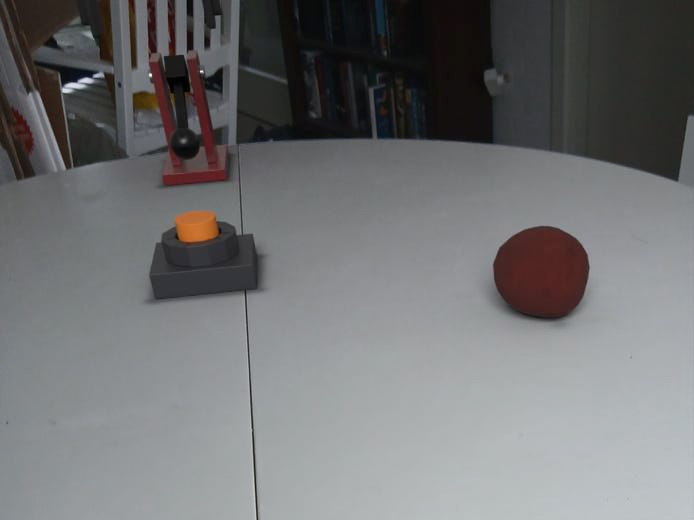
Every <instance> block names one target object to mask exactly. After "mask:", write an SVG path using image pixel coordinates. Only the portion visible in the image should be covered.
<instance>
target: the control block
mask: <svg viewBox="0 0 694 520" xmlns="http://www.w3.org/2000/svg"><path fill="white" fill-rule="evenodd" d="M216 221H217V226H218V230H219V235H218V236H216V237H215V238H212V239H208V240H205V241H196V242H184V241H179V238H178V234H177V230H176V225H175V226H172V227H171V228H169V229H168V230H166V231H164V232H162V233H161V239H160V242H156V243H155V247H154V252H153V256H152V261H151V266H150V271H149V275H148V277H149V280H150V284H151V287H152V291H153V294H154V299H155V300H161V299H171V298H181V297H190V296H200V295H209V294H210V295H211V294H219V293H229V292H238V291H240V292H241V291H248V290H256V289H257V288H258V253H257V249H256V243H255V237H254V233H245V234H237V230H236V226H234V225H233V224H231V223H228V222H226V221H220V220H216Z"/></svg>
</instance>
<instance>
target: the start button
mask: <svg viewBox="0 0 694 520" xmlns="http://www.w3.org/2000/svg"><path fill="white" fill-rule="evenodd" d="M217 221H218V220H217V217H216V213H214V212H212V211H210V210H192V211H188V212H183V213H180V214H179V215H177V216H176V217H175V218H174V225H175V226H176V230H177V234H178V238H179V241H184V242H196V241H205V240H208V239H212V238H215V237H216V236H218V235H219V230H218V226H217Z"/></svg>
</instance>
